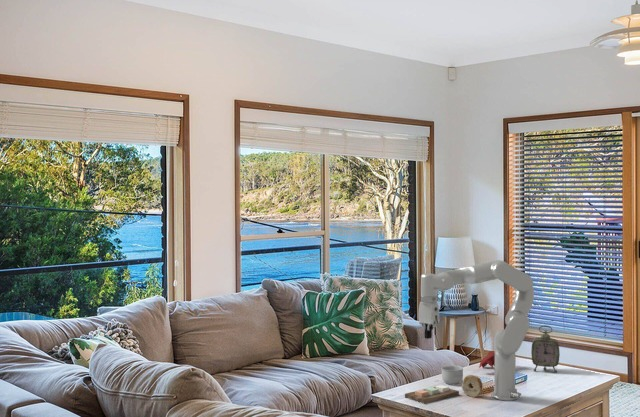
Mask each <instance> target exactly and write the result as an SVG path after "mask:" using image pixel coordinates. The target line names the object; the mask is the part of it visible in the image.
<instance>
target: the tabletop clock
mask: <svg viewBox="0 0 640 417" xmlns="http://www.w3.org/2000/svg"><path fill="white" fill-rule="evenodd" d="M543 327H546V328H549V329H551V331H547V330H544V331H543V330H540V329H541V328H543ZM538 331H539V332H540V333H542V334H541V336H540V337H535V338H534V337H533V339H532V341H531V352H530V353H531V360H532V361H531V362H532V364H533V365H535V367H534V368H533V372H536V371H537V367H538V366H539V367H543V371H547V368H552V369H553V372H554V373H555V374H556V373H557V372H558V370H557V369H556V367H557V366H558V365H559V363H560V345H559V341H558V339H555V338H551V336H550V333H552V332H553V328H552V327H551V326H549V325H545V324H544V325H540V326H539V327H538Z"/></svg>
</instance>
